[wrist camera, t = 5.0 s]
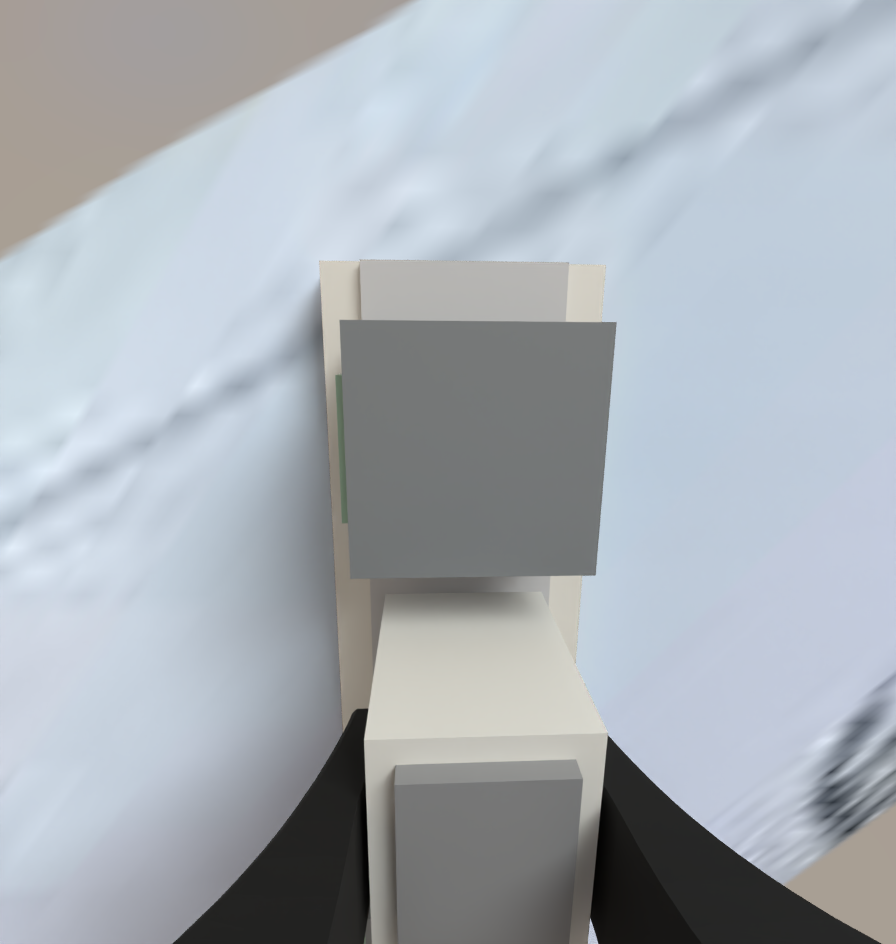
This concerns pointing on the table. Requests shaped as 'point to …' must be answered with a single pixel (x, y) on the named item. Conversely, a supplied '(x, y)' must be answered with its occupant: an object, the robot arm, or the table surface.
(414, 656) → the module block
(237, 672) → the table surface
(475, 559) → the board
